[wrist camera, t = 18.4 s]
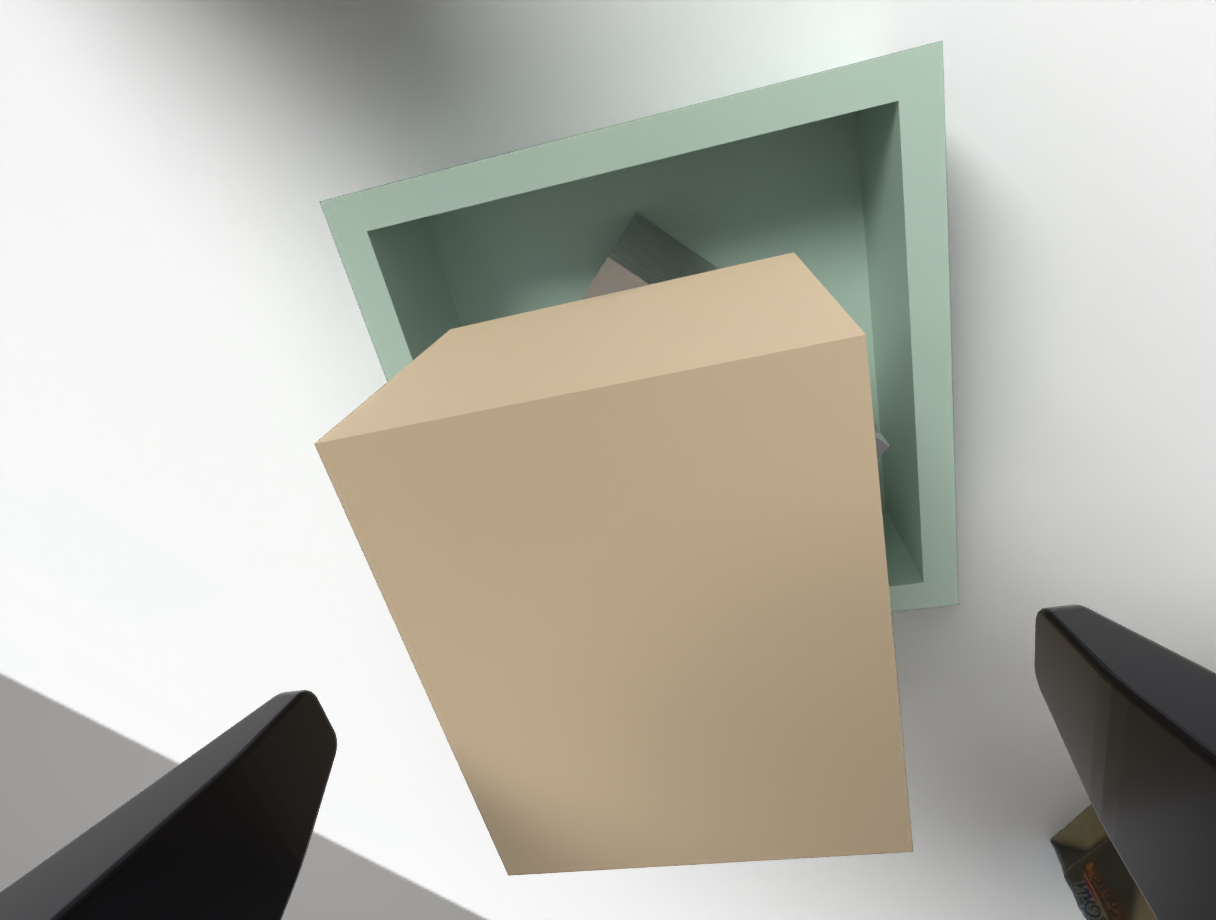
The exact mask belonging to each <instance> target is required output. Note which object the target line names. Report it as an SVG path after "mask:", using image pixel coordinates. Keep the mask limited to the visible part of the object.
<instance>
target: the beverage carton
mask: <svg viewBox="0 0 1216 920" xmlns="http://www.w3.org/2000/svg"><path fill="white" fill-rule="evenodd" d="M1051 844H1052V845H1053V847H1054V849H1055V852H1056V854H1057V857H1058V859H1059V861H1060V863H1061V866H1062V869H1063V873H1064V877H1065V880H1066V882H1067V884H1068V885H1069V887H1070V889H1071V890H1072V892H1073V894H1074V897H1075V899H1076V902H1077V904H1078V907H1079V908H1080V910H1081V912H1082V913H1083V915H1084V917H1085V918H1086V920H1157V919H1156V917H1155V915H1154V913H1153V912H1152V910H1151V908H1150V907H1149V905H1148V903H1147V902H1146V900H1145V898H1144V896H1143V895H1142V893H1141V891H1140V890H1139V888H1138V886H1137V884H1136V883H1135V881H1134V879H1133V878H1132V876H1131V874H1130V872H1129V871H1128V869H1127V867H1126V866H1125V864H1124V862H1123V861H1122V859H1121V857H1120V855H1119V854H1118V852H1117V850H1116V849H1115V847H1114V845H1113V843H1112V842H1111V840H1110V838H1109V836H1108V834H1107V832H1106V831H1105V829H1104V827H1103V825H1102V823H1101V822H1100V820H1099V817H1098V815H1097V813H1096V811H1095V809H1094V807H1093V805H1092V804H1091V805H1090V806H1089V807H1088V808H1086V809H1085V810H1084V811H1083V812H1082V813H1081V814H1080V815H1078V816H1077V817H1076V818H1075V819H1074V820H1073V821H1072V822H1071V823H1069V824H1068V825H1067V826H1066V827H1065V828H1064V829H1063V830H1061V831H1060V832H1059V833H1058V834H1057V835H1055V836H1054V837H1053V838H1052V839H1051Z"/></svg>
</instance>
